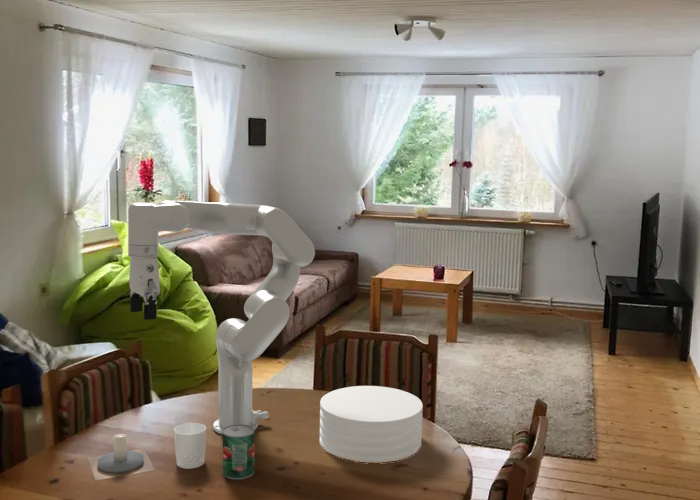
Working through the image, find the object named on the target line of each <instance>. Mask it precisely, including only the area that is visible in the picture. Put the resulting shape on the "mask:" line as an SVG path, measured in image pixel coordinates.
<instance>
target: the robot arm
mask: <svg viewBox="0 0 700 500" xmlns="http://www.w3.org/2000/svg"><path fill="white" fill-rule="evenodd" d="M127 211H128V212H127V213H128V214H127V219H128V220H127V221H128V222H127V226H128V233H127V234H128V235H127V236H128V241H127V242H128V243H127V244H128V245H127V246H128V247H127V248H128V249H127V252H128V253H127V255H128V256H127V257H129V259H130V261H129V274H128V275H129V280H128V281H129V291H130V292H129V297H130V299H129V300H130V302H129V303H130V304H129V306H130V309H129V310H130V311H129V312H130V313H137V312H143V319H144V320H145V321H149V320H156V319H157V311H158V310H157V309H158V308H157V307H158V305H157V304H158V295H159V294H160V293H161V288H160V287H161V286H160V285H161V284H160V270H159V269H160V267H159V261H158V257H159V231H161V232H162V231H163V232H172V233H179V232H182V231H184V230H186V229H190V230H201V231H206V232H209V233H214V234H219V235H236V236H237V235H238V236H242V235H243V236H263V237H267V238H268V239H269V240H270V241H271V242H272V244H271V252H272V258H273V259H272V260H273V261H272V266H271V270H270V271H269V273H268V274H267V276H266V277H265V278H264V279H263V281H262V282H261V283H260V284H259V285H258V286H257V287H256V289H255V290H254V291H253V292H252V293H251V294H250V296H248V298H247V299H246V301H245V303H244V306H243V311H244V314H245V316H246V317H247V318H248V320H247V321H245V320H242V319H241V318H234V317H232V318H228V319H226V320H224V321H222V322H221V323H220V324H219V326H218V328H217V330H216V334H215V344H216V351H217V361H218V363H217V366H218V367H217V368H218V419H216V420H215V421H214V422H213V424H212V427H213V430H214V432H216V433H217V434H219V435H223V433H222V430H223V429H224V428H225V427H227V426H230V425H235V424H245V425H249V426H252V427H253V428H254V430H255V431H256V430H257V429H258V424H259V423H258V421H259V420H265V419H269V417H270V414H269V411H262V410H261V409H259V410H254V409H253V360H255V359H257V358H259V357H260V356H261V355H262V354H263V353H264V352H266V350H267V348H268V347H269V346H270V345H271V344H272V343H273V341H274V340H275V339H276V338H277V337H278V335H279V334H280V333H281V332H282V330H283V329H284V328H285V327H286V325H287V324H288V320H289V318H290V306H289V304H288V302H287V299H288V298H289V297H290V295H291V294H292V292H293V291H294V290H295V288H296V287H297V285H298V282H299V278H300V271H301V270H300V269H301V268H304V267H307V266H308V265H310V264H311V263H313V260H314V258H315V256H316V249H315V245H314V243H313V242H312V240H311V239H310V238H309V236H307V234H306V233H305V232H304V231H303V230H302V229H301V228H300V227H299V226H298V223H296V222H295V221H294V219H292V217H291V216H290V215H289V214H288V213H286V211H285V210H282V208H278V207H276V206H275V207H274V206H270V205H266V204H248V203H247V204H245V203H231V202H230V203H228V202H202V201H201V202H200V201H199V202H198V201H184V200H183V201H182V200H162V201H159V202H158V203H157V204H156V203H151V202H133V203H131V204H130V205H129V206H128V210H127ZM143 302H144V304H143Z"/></svg>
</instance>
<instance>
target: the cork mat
mask: <svg viewBox="0 0 700 500" xmlns="http://www.w3.org/2000/svg"><path fill="white" fill-rule="evenodd" d="M132 451H136V452H139V453H141V454H142V455H143V457H144V463H143V465H142V466H141V467H140V468H138V469H136V470H134V471H131V472H126V473H119V474H111V473H105V472H102V471H100V470H99V469H98V465H97V461H98V459H99V458H100V457H101V456H103V455H104V454H102V455H96V456H89V457H87V460H88V462H89V463H88V464H89V467H90V469H91V472H92V475H93V478H94V479H93V480H94V481H102V480H107V479H108V480H109V479H113V478H114V479H115V478H119V477H126V476H131V475H138V474H142V473H149V472H154V471H156V469H155V468H154V466H153V463H152V461H151V460H150V458H149V455H148V454H147V452H146V450H145V448H140V449H139V448H138V449H133V450H132Z"/></svg>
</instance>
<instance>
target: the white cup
mask: <svg viewBox="0 0 700 500" xmlns="http://www.w3.org/2000/svg"><path fill="white" fill-rule="evenodd" d="M173 436H174V438H173V439H174V451H175V460H176V467H177V466H178V467H179V468H181V469H188V470H189V469H195V468H199V467H201V466H203V465H204V464H205V456H206V444H207V443H206V441H207V440H206V439H207V426H206V425H205V424H203V423H199V422H185V423H181V424H178V425H176V426H175V427H174V428H173Z"/></svg>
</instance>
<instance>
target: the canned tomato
mask: <svg viewBox="0 0 700 500" xmlns="http://www.w3.org/2000/svg"><path fill="white" fill-rule="evenodd" d="M255 431H256V430H254V428H253V427H252V426H249V425H245V424H235V425H230V426H227V427H225V428H224V429H223V430H222V433H223V434H222V436H221V438H222V439H221V440H222V444H221V446H222V475H223V476H224V477H225V478H227V479H230V480H245V479H248V478H250V477H252V476H253V475H254V474H255Z"/></svg>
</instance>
